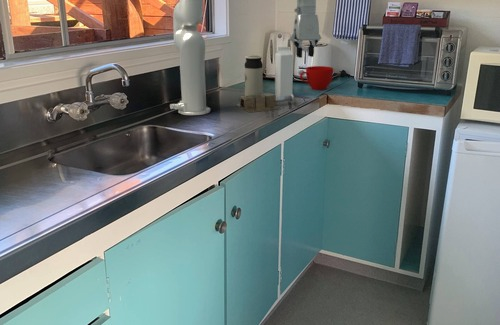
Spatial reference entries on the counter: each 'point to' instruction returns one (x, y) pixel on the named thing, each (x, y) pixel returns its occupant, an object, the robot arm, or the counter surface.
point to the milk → (283, 71)
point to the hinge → (258, 102)
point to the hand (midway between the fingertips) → (305, 56)
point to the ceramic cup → (318, 77)
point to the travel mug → (253, 75)
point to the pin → (285, 98)
